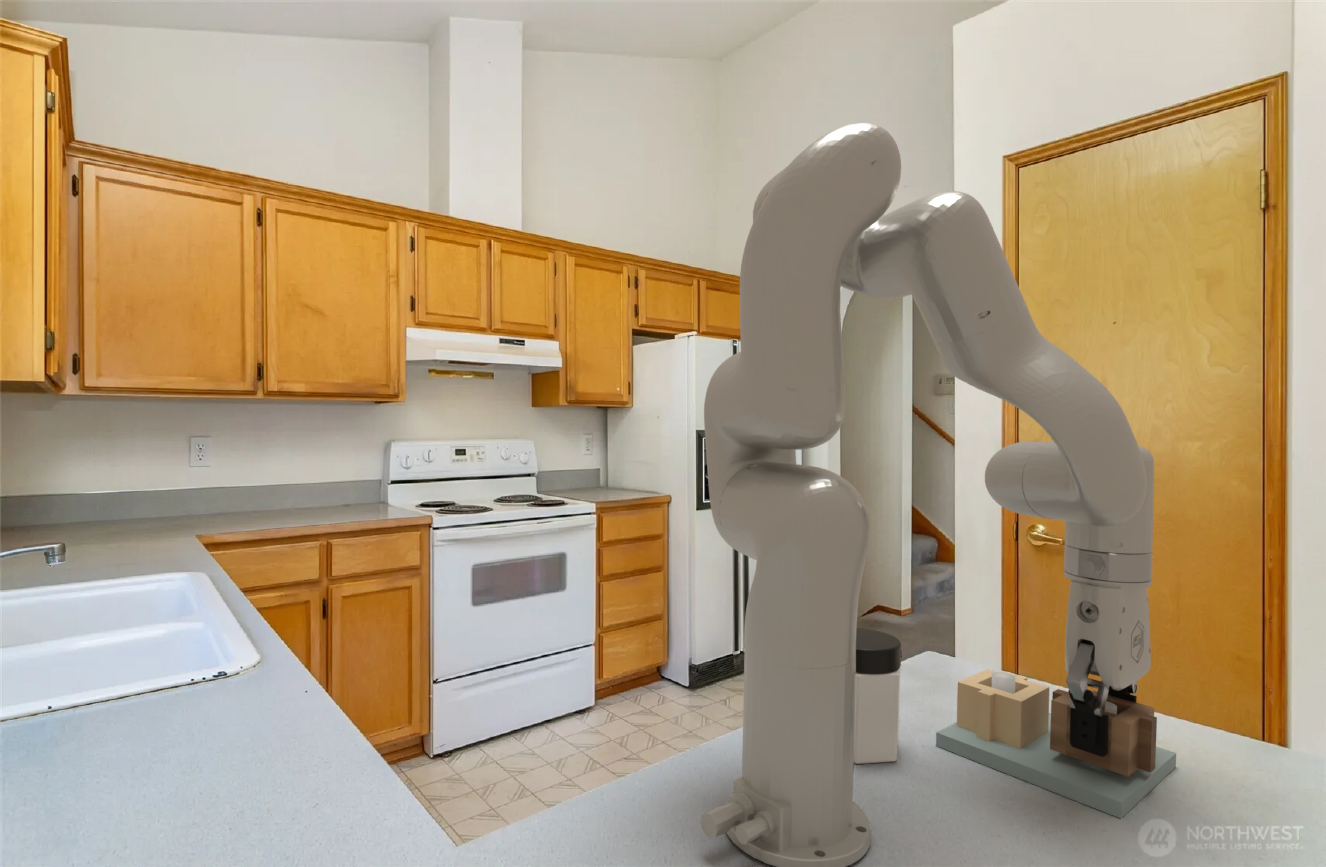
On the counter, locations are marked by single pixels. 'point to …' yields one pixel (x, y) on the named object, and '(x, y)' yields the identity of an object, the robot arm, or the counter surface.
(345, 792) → the counter surface
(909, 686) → the counter surface
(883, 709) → the jar
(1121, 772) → the ribbed wooden holder
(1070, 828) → the counter surface
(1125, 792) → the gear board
